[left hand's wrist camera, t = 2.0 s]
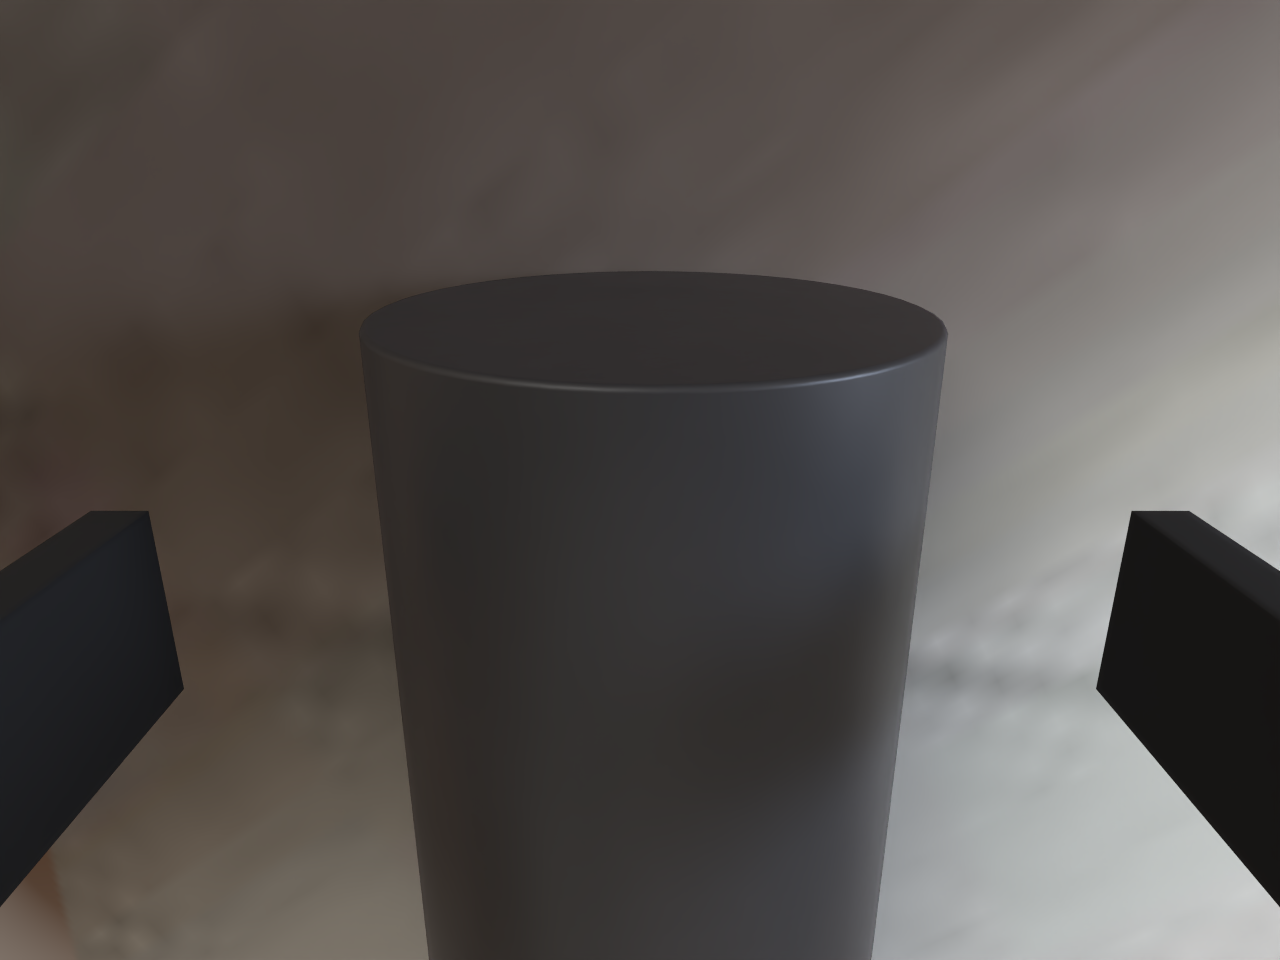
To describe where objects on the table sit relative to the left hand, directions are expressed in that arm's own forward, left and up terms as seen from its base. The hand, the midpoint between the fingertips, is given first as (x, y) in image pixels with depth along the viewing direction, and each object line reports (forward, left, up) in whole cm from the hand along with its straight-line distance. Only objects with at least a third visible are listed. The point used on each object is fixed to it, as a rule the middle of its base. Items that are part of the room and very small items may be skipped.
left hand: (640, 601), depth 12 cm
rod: (+10, 0, -7) cm, 12 cm away
